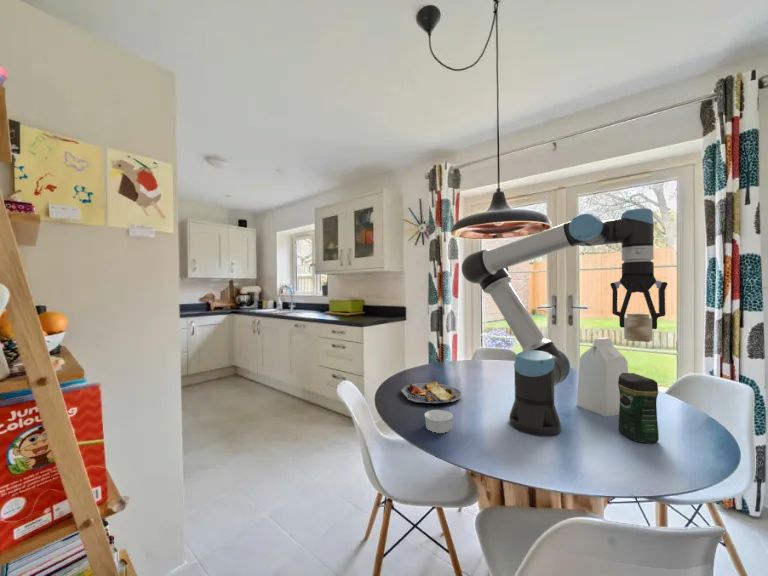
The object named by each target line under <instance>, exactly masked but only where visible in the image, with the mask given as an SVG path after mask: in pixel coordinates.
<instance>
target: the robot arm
mask: <svg viewBox="0 0 768 576" xmlns="http://www.w3.org/2000/svg"><path fill="white" fill-rule="evenodd" d="M653 213H654V212H653V210H651V209H650V208H644V207H643V208H632V209H627V210H625V211H623V212H621V214H620V215H621V216H620V218H617V219H616V218H615V219H609V220H608V219H607V220H602V219H601V218H600V217H599V216H597V215H595V214H593V213H581V214H578V215H576V216H574V217H573V218H572V219H571V220H570V221H567V222H564V223H562V224H559V225H557V226H553V227H551V228H548V229H546V230H543V231H540V232H537V233H535V234H532V235H529V236H527V237H524V238H520V239H518V240H516V241H512V242H510V243H507V244H504V245H501V246H499V247H496V248H493V249H491V250H490V249H488V248H484V249H483V250H480V251H477V252H473V253H471V254H468V256H466V257H465V258H464V260H463V261H462V263H461V274H462V275H463V277H464V278H465V280H467V281H468V282H470V283H473V284H479V286H480V287H481V290H482V291H483V292H484V293H485V294H489V295H490V297H491V298H492V300H493V301H494V304H495V306H497V308H498V310H499V311H500V314H501V315H502V316H503V319H504V320H505V322H506V323H507V325H508V326H509V328H510V330H511V332H512V333H513V335H514V337H515V338H516V341H517V342H518V343H519V345H520V347H521V349H522V351H521V352H518V353H516V354H515V357H514V364H513V367H514V402H513V403H512V407H511V409H510V411H509V416H508V417H509V419H508V420H509V424H510V426H511V427H512V428H514V429H515V430H518V431H520V432H521V433H522V432H523V433H525V434H529V435H534V436H542V437H543V436H544V437H545V436H546V437H547V436H549V437H550V436H555V435H558V434H560V432H561V431H562V430H561V429H562V427H561V426H562V424H561V420H560V417H559V414H558V411H557V409H556V406H555V386H556V385H559V383H562V382H564V381H565V379H567V377H568V375H570V371H571V362H570V360H569V357H568V356H567V355H566V353H564V352H563V351H561V350H560V349H558V348H557V346H556V345H555V343H554V342H553V341H552V340H550V339H547V338H545V336H544V335H543V333H542V331H541V329H540V328H539V327H538V325H537V324H536V322H535V321H534V319H533V317H532V316H531V315H530V313H529V311H528V309H527V308H526V306H525V305H524V303H523V302H522V300H521V298H520V297H519V295H518V294H517V292H516V291H515V289H514V287H513V286H512V284H511V281H512V277H511V275H510V274H509V267H512V266H515V265H519V264H522V263H525V262H528V261H531V260H534V259H537V258H541V257H544V256H547V255H550V254H553V253H556V252H560V251H564V250H566V249H568V248H571V247H576V246H579V247H592V246H603V245H612V244H613V245H614V244H621V261H622V263H621V277H620V279H619V280H618V281H615V282H611V283H610V288H611V289H612V290H611V291H612V302H611V303H612V308H611V309H612V310H611V312H612V314H613V315H615V316H618V319H619V327H620V328H623V331H624V332H623V336H624V337H623V338H624V339H625V340H627V339H628V327H627V316H625V315H626V314H627V309H628V306H629V303H630V300H631V296H632V294H634V293H635V294H636V293H641V294H643V296H644V299H645V302H646V305H647V308H648V312H649V315H650V317H649V340H650V342H652V341H653V330H657V329H658V318H662V317H665V316H666V288H667V286H668V282H667V281H661V280H657V279H656V277H655V275H654V268H655V267H654V265H655V263H654V262H653V260H654V257H655V256H654V235H655V234H654V229H655V228H654V215H653ZM620 285H622V286H623V288H624V289H625V290H626V292H625V295H624V298H623V302H622V305H621V309H620V310H618V289H619V288H620ZM654 285H655V286H656V288H657V289H658V290H657V291H658V293H657V294H658V299H657V300H658V312H657V311H656V309H655V306H654V303H653V300H652V296H651V293H650V289H651V288H652V287H653V286H654Z"/></svg>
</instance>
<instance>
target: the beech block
mask: <svg viewBox="0 0 768 576" xmlns="http://www.w3.org/2000/svg"><path fill="white" fill-rule="evenodd" d="M626 317H627V327H628V339H626V340H627V342H644V343H650V342H651V341H650V340H649V318H650V313H647V312H626Z"/></svg>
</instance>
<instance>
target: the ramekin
mask: <svg viewBox="0 0 768 576" xmlns="http://www.w3.org/2000/svg"><path fill="white" fill-rule="evenodd" d="M424 419H425V427H426V429H427V430H428V431H429V430H430V432H431V431H432V432H431V433H434V432H436V433H435V434H446V433H448V432H450V431H451V429H452V421H453V414H452V413H451V412H450V411H447V410H443V409H433V410H427V411H426V412H425V413H424ZM445 432H446V433H445Z"/></svg>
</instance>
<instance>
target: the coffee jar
mask: <svg viewBox="0 0 768 576" xmlns="http://www.w3.org/2000/svg"><path fill="white" fill-rule="evenodd" d="M618 387H619V392H620V406H619V414H618V426H617V428H618V431H619V432H620V433H621V434H623V435H624V436H626V437H627V438H629V439H630V440H632V441H635V442H639V443H645V444H654V443H657V442H659V438H660V437H659V436H660V435H659V425H658V424H659V423H658V410H657V409H658V408H657V399H658V394H659V386H658V382H657V381H656V380H655V379H653V378H649V377H646V376H643V375H641V374H637V373H635V372H628V373H622V374H621V375H620V376H619V380H618Z"/></svg>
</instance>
